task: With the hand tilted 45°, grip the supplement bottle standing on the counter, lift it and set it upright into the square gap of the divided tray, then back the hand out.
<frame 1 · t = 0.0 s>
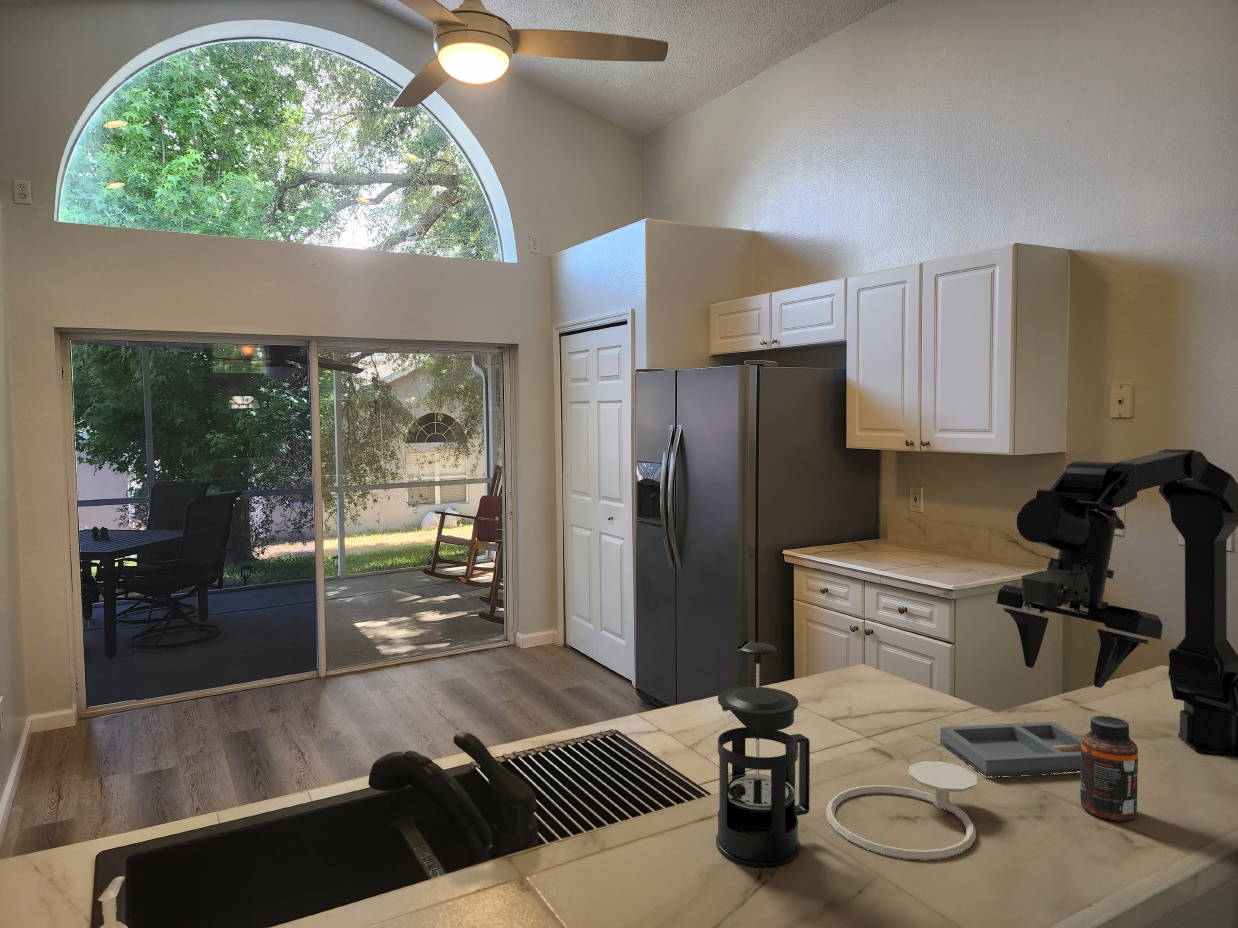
hand: (1062, 676, 100), 15 cm above the countertop, tool pointing down, fingers open, 9 cm apart
hand towel holder: (908, 822, 95), on the countertop
supplement bottle: (1108, 813, 97), on the countertop
french press: (761, 845, 90), on the countertop
divided tray: (1001, 757, 113), on the countertop
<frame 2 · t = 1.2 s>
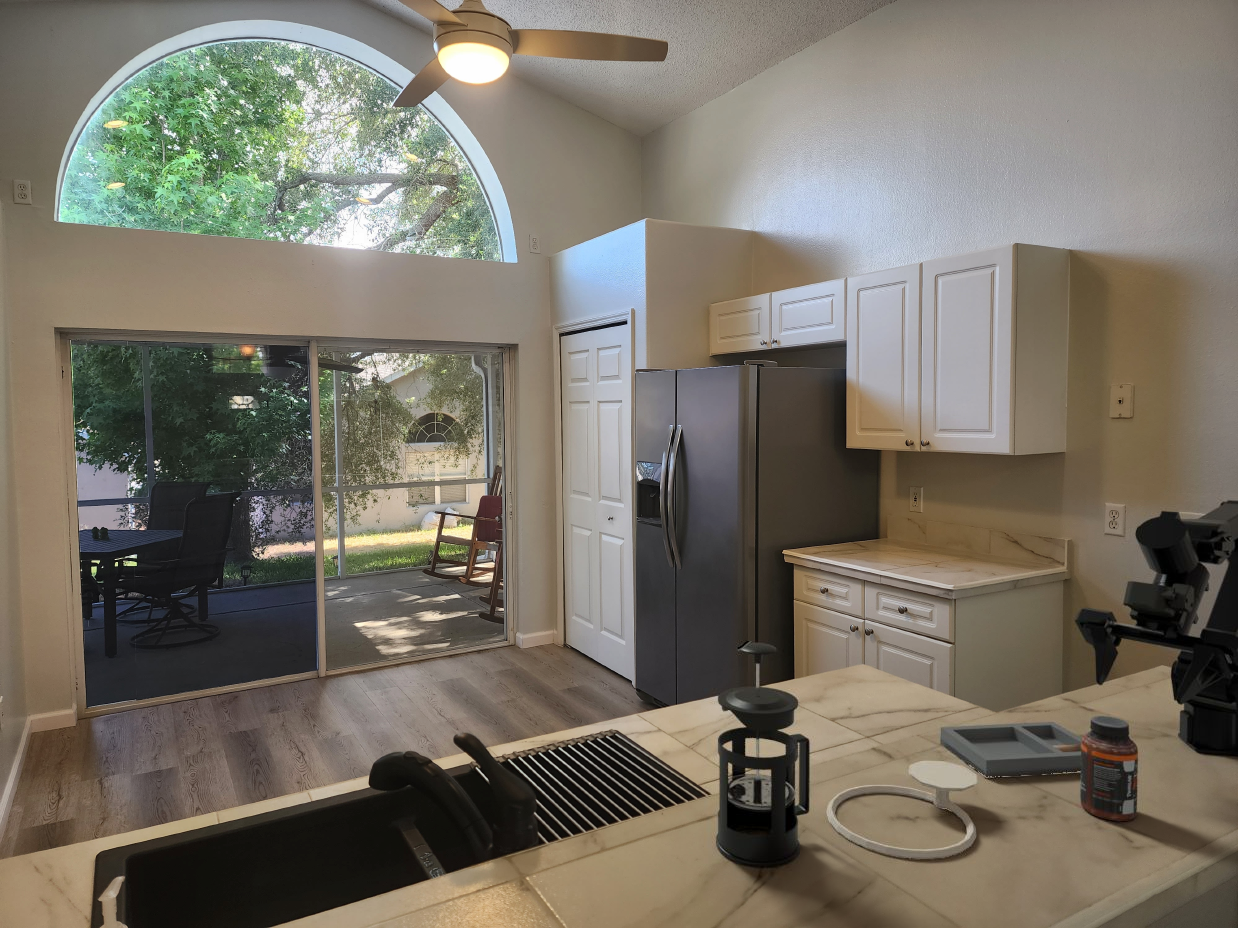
hand: (1137, 692, 101), 13 cm above the countertop, tool tilted 45°, fingers open, 9 cm apart
nothing on the countertop moved.
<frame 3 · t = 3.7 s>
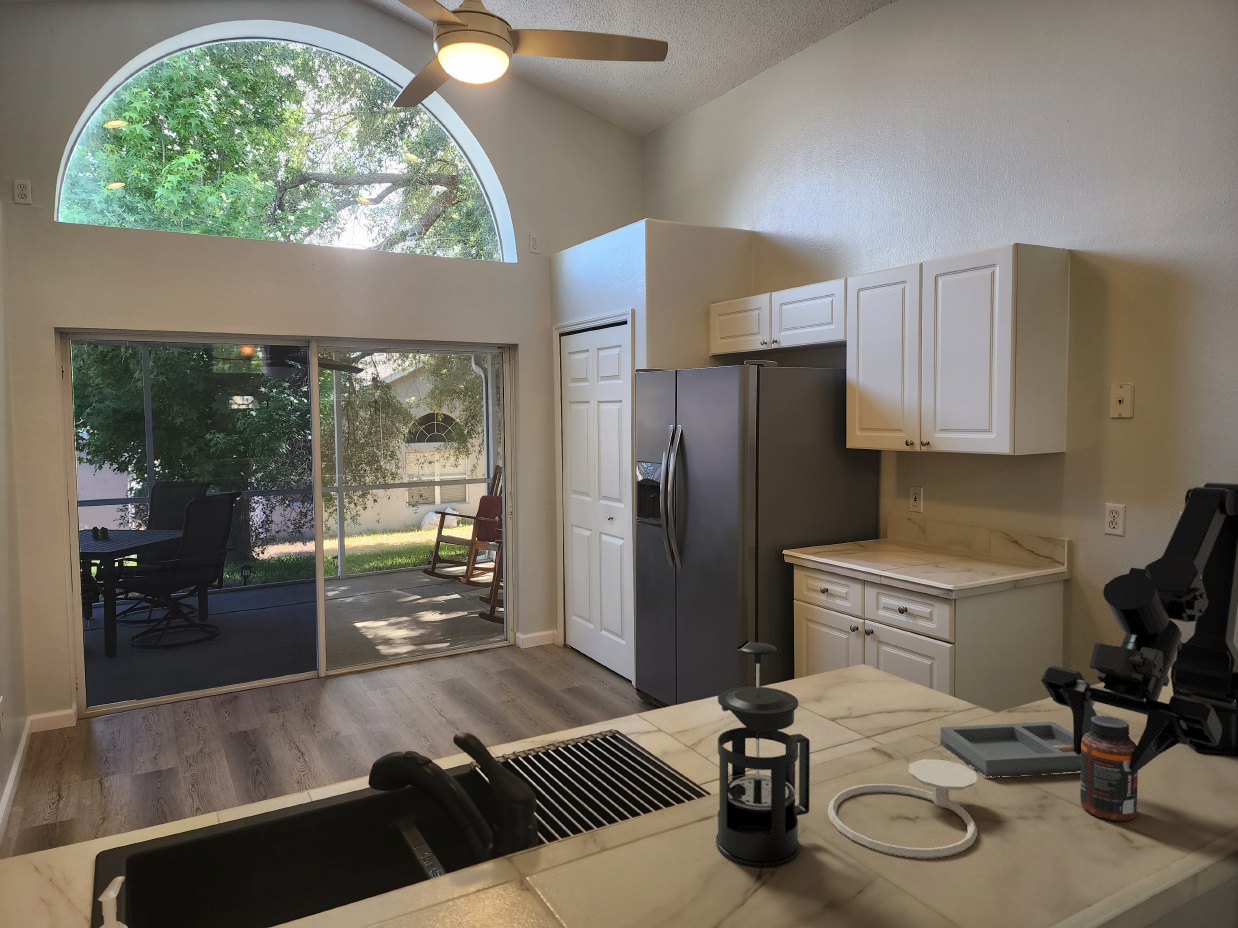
hand: (1103, 761, 96), 7 cm above the countertop, tool tilted 45°, fingers closed on supplement bottle, 6 cm apart
supplement bottle: (1108, 812, 97), on the countertop, touching gripper
everything else where it was.
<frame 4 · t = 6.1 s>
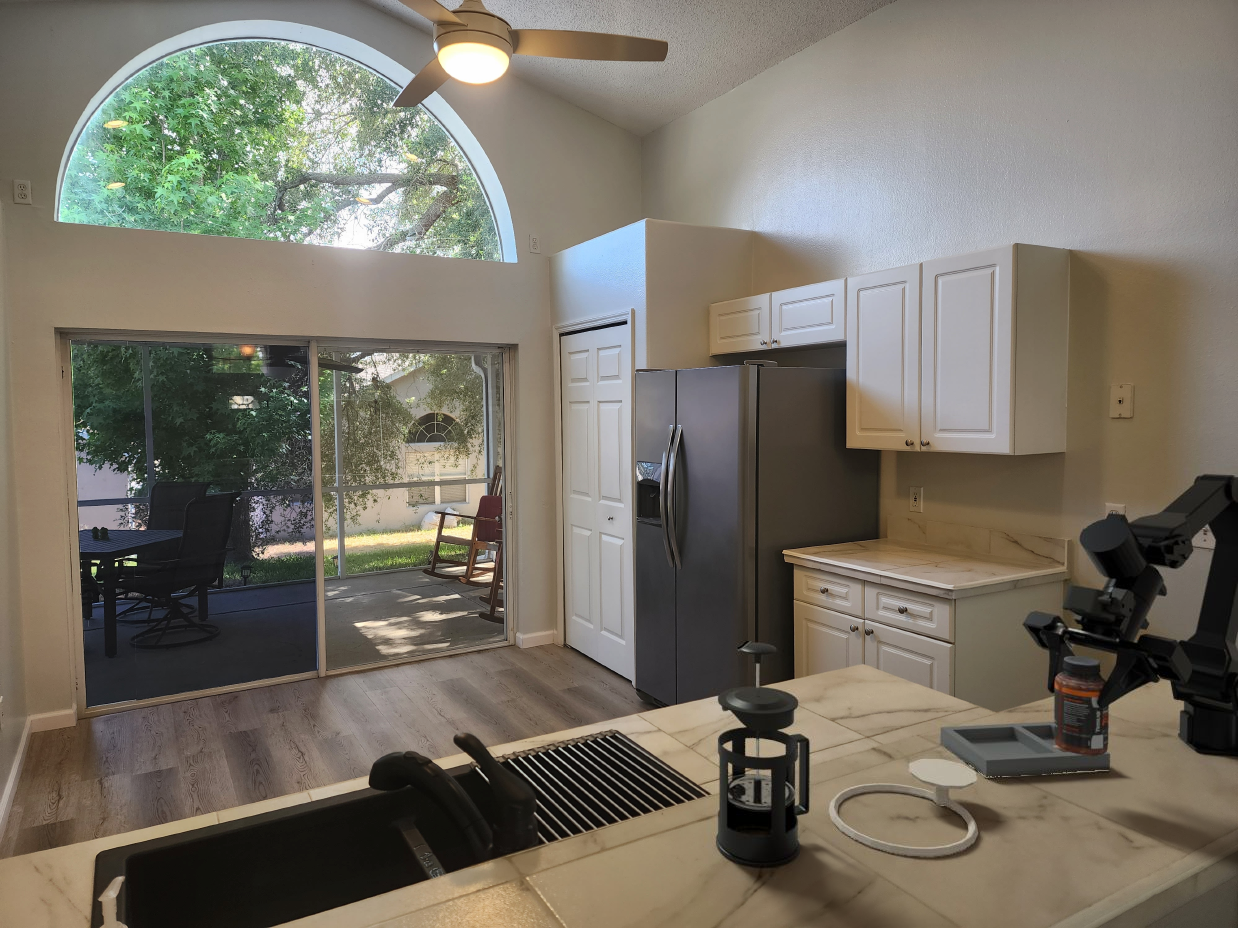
hand: (1074, 698, 99), 13 cm above the countertop, tool tilted 45°, fingers closed on supplement bottle, 6 cm apart
supplement bottle: (1080, 749, 100), point 6 cm above the countertop, touching gripper
everything else where it was.
when the fingers open (8 cm above the countertop, at t = 8.6 s): supplement bottle stays where it is, resting on divided tray.
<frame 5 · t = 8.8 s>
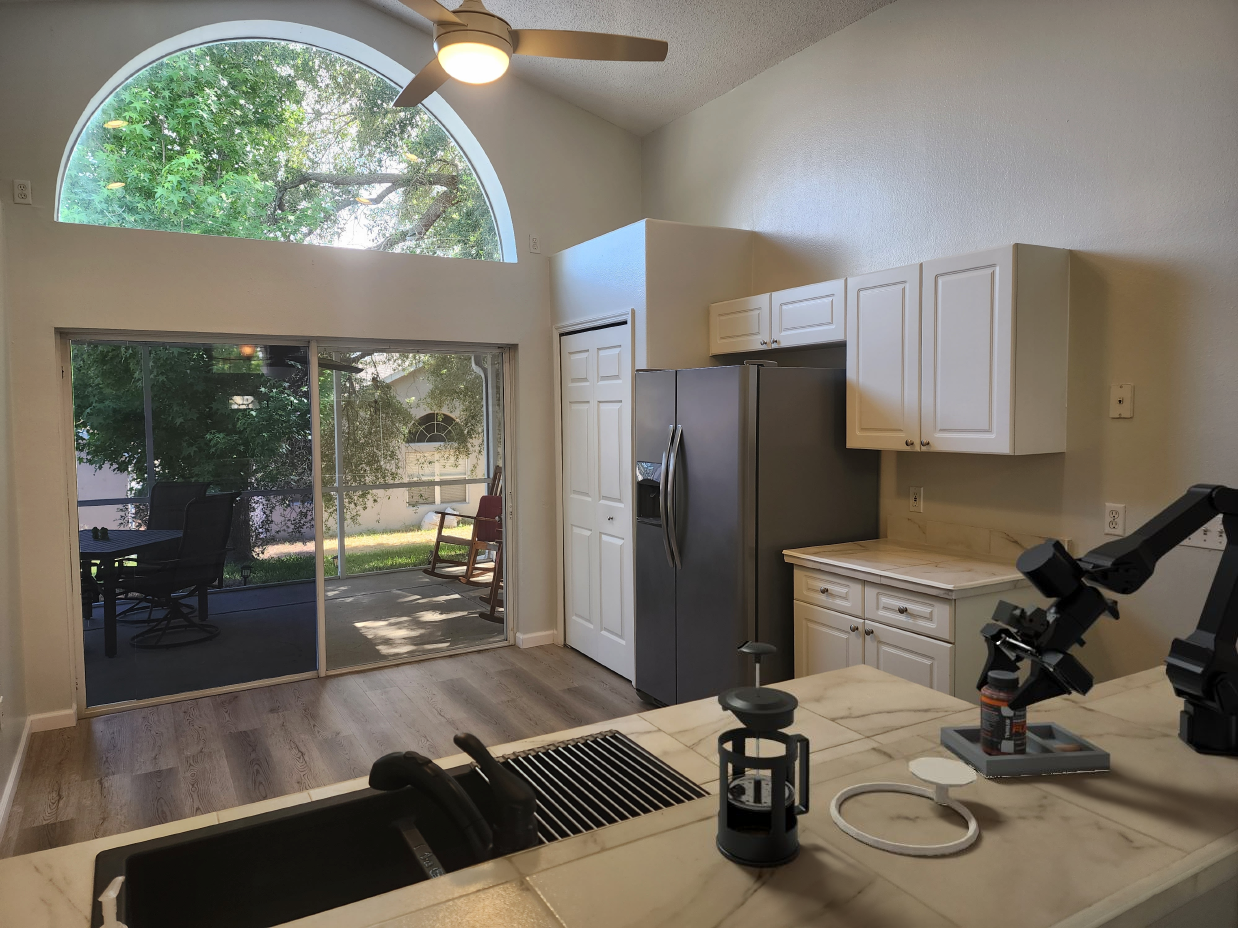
hand: (993, 698, 112), 9 cm above the countertop, tool tilted 45°, fingers open, 7 cm apart
supplement bottle: (1003, 753, 113), point 1 cm above the countertop, touching divided tray
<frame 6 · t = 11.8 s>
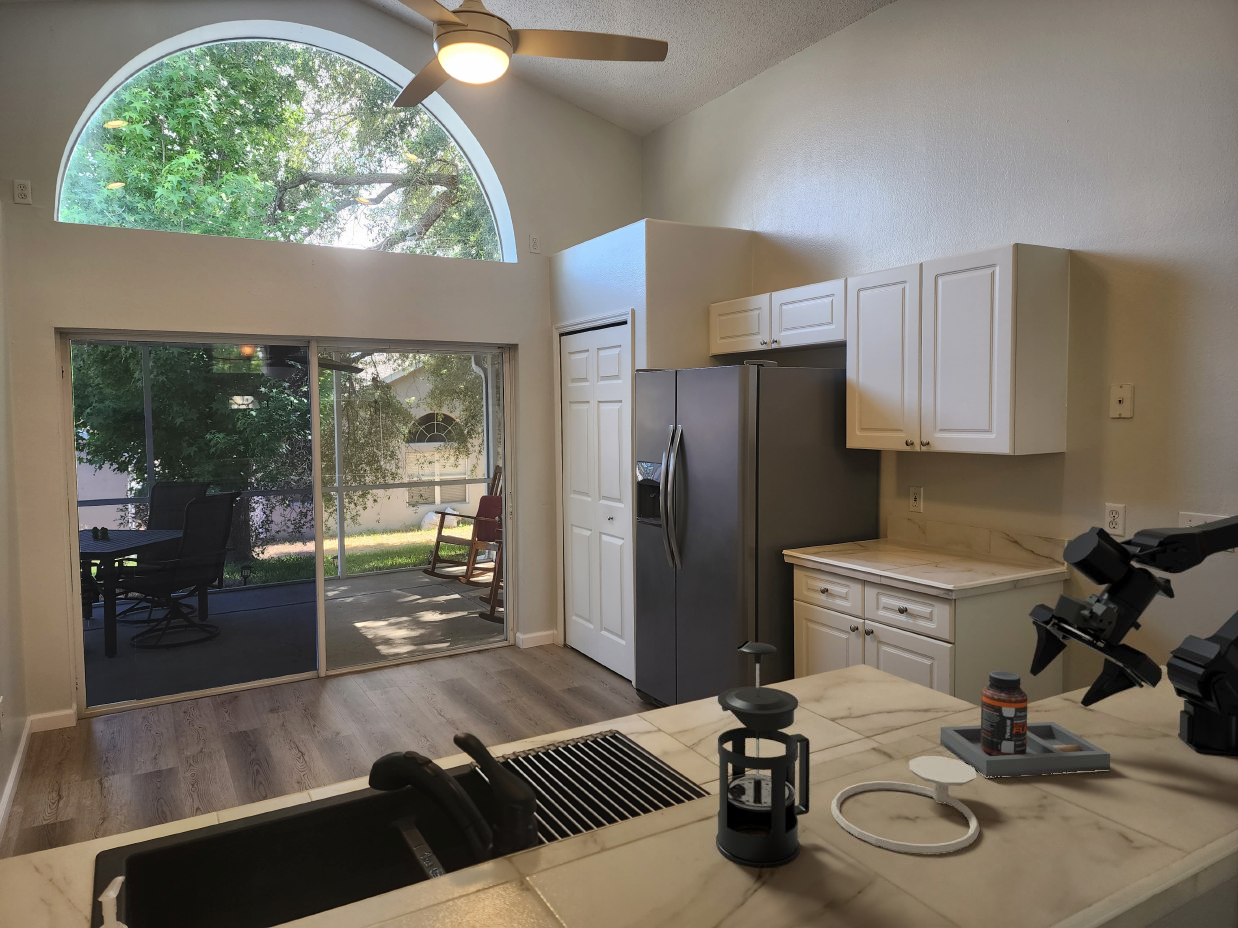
hand: (1056, 689, 115), 9 cm above the countertop, tool tilted 35°, fingers open, 9 cm apart
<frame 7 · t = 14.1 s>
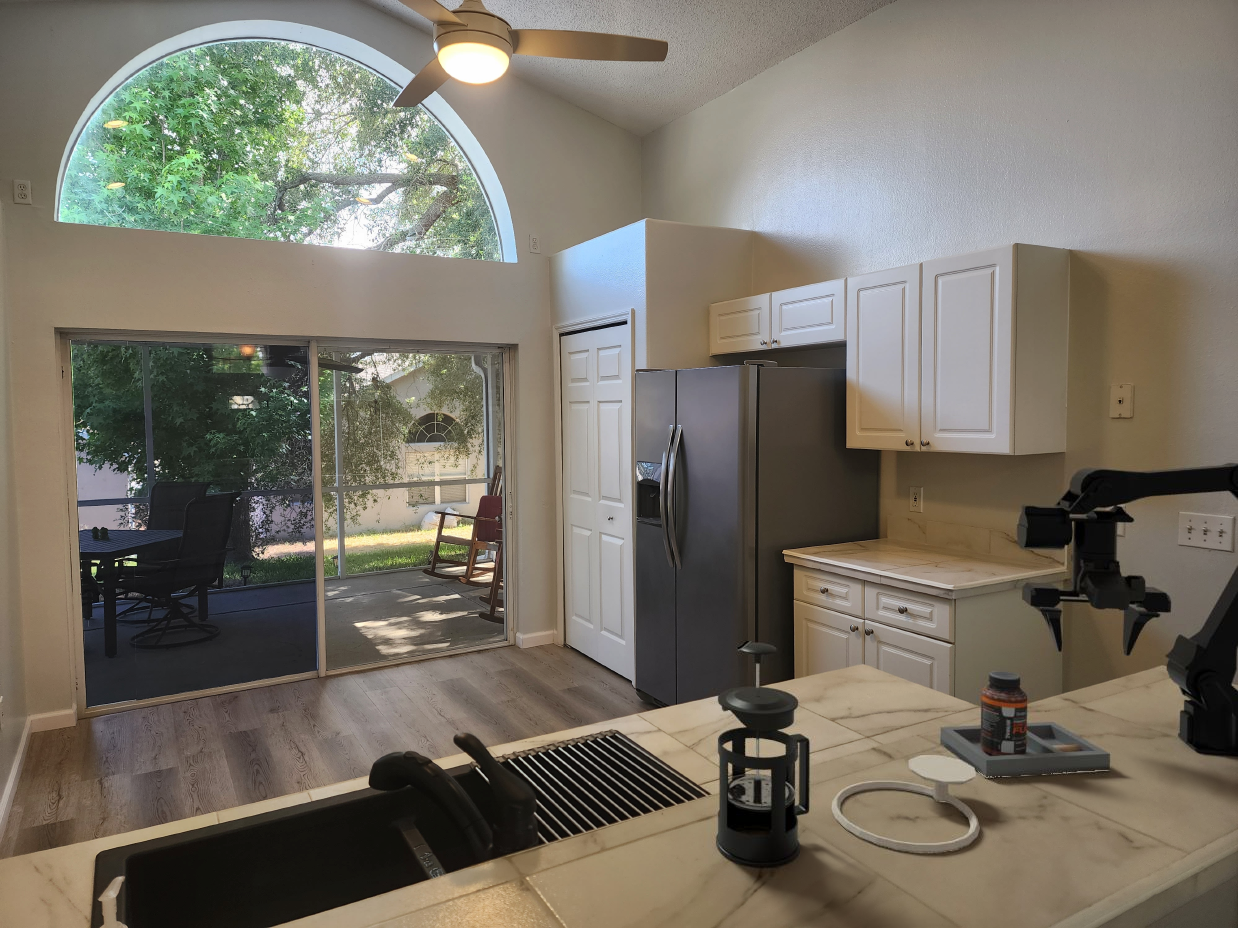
hand: (1092, 653, 119), 13 cm above the countertop, tool pointing down, fingers open, 9 cm apart
at the end: supplement bottle 0.2 cm off-centre on the divided tray, point 0.6 cm above the divided tray's base; supplement bottle tilted 0°; the gripper is holding nothing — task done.
